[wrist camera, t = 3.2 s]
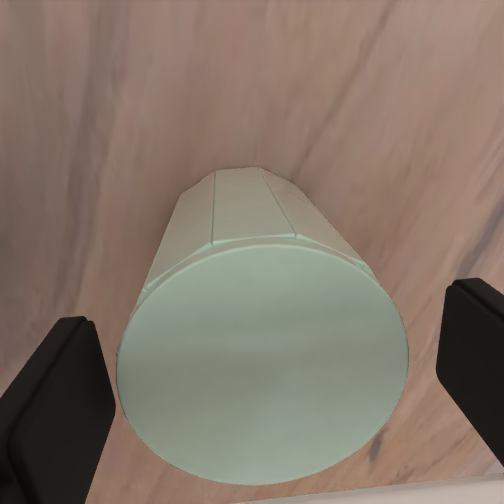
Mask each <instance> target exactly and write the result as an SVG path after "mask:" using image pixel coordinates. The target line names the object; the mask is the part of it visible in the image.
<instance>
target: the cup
mask: <svg viewBox="0 0 504 504" xmlns="http://www.w3.org/2000/svg"><path fill="white" fill-rule="evenodd" d="M116 355H117V362H116V384H117V390H118V396H119V400H120V403H121V406H122V408H123V411H124V414H125V416H126V418H127V420H128V421H129V423H130V425H131V427H132V428H133V430H134V431H135V432H136V434H137V435H138V436H139V438H140V439H141V440H142V441H143V442H144V443H145V444H146V445H147V446H148V447H149V448H150V449H151V450H152V451H153V452H154V453H156V454H157V455H158V456H159V457H161V458H162V459H163V460H165V461H166V462H168V463H170V464H172V465H173V466H175V467H177V468H178V469H181V470H183V471H185V472H187V473H190V474H192V475H195V476H198V477H201V478H204V479H207V480H211V481H216V482H221V483H227V484H236V485H266V484H276V483H282V482H288V481H292V480H296V479H300V478H303V477H307V476H310V475H312V474H315V473H318V472H320V471H323V470H325V469H327V468H329V467H331V466H333V465H335V464H337V463H339V462H340V461H342V460H344V459H345V458H347V457H349V456H350V455H352V454H353V453H354V452H356V451H357V450H358V449H360V448H361V447H362V446H364V445H365V444H366V443H367V442H368V441H369V440H370V439H371V438H372V437H373V436H374V435H375V434H376V433H377V432H378V431H379V430H380V428H381V427H382V426H383V425H384V424H385V422H386V421H387V419H388V418H389V416H390V415H391V413H392V412H393V410H394V409H395V407H396V405H397V402H398V400H399V398H400V396H401V394H402V391H403V388H404V385H405V382H406V377H407V371H408V362H409V348H408V341H407V334H406V330H405V327H404V324H403V321H402V318H401V316H400V314H399V312H398V310H397V308H396V306H395V304H394V302H393V301H392V300H391V298H390V297H389V296H388V294H387V293H386V292H385V290H384V289H383V288H382V287H381V285H380V284H379V282H378V280H377V279H376V277H375V276H374V274H373V272H372V271H371V269H370V267H369V266H368V265H367V264H366V263H365V262H364V260H363V259H362V258H361V257H360V256H359V255H358V254H357V253H356V251H355V250H354V249H353V248H352V247H351V246H350V245H349V244H348V242H347V241H346V240H345V239H344V238H343V237H342V236H341V235H340V234H339V232H338V231H337V230H336V229H335V228H334V227H333V226H332V225H331V223H330V222H329V221H328V220H327V219H326V218H325V217H324V216H323V215H322V213H321V212H320V211H319V210H318V209H317V208H316V207H315V206H314V204H313V203H312V202H311V201H310V200H309V199H308V198H307V197H306V196H305V194H304V193H303V192H302V191H301V190H300V189H299V188H298V187H297V186H296V185H295V184H294V183H292V182H290V181H288V180H286V179H283V178H281V177H279V176H277V175H275V174H273V173H271V172H269V171H267V170H265V169H262V168H260V167H245V168H234V169H223V170H216V171H213V172H212V173H210V174H209V175H207V176H206V177H205V178H203V179H202V180H200V181H199V182H198V183H196V184H195V185H193V186H192V187H191V188H189V189H188V190H186V191H185V192H184V193H182V194H181V196H179V198H178V201H177V203H176V206H175V208H174V210H173V213H172V215H171V217H170V220H169V222H168V224H167V227H166V229H165V232H164V234H163V237H162V239H161V241H160V244H159V246H158V249H157V251H156V254H155V256H154V259H153V261H152V264H151V266H150V269H149V271H148V273H147V276H146V278H145V281H144V283H143V286H142V288H141V291H140V293H139V296H138V298H137V301H136V303H135V305H134V308H133V310H132V313H131V315H130V318H129V320H128V323H127V325H126V328H125V330H124V332H123V335H122V337H121V340H120V342H119V345H118V347H117V353H116Z"/></svg>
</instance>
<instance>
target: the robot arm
mask: <svg viewBox="0 0 504 504" xmlns="http://www.w3.org/2000/svg"><path fill="white" fill-rule="evenodd" d="M436 374H437V377H438V379H439V381H440V383H441V384H442V385H443V387H444V388H445V389H446V391H447V392H448V393H449V395H450V396H451V397H452V399H453V400H454V401H455V403H456V404H457V405H458V407H459V408H460V409H461V411H462V412H463V413H464V415H465V416H466V417H467V419H468V420H469V421H470V423H471V424H472V425H473V427H474V428H475V429H476V431H477V432H478V433H479V435H480V436H481V437H482V439H483V440H484V441H485V443H486V444H487V445H488V447H489V448H490V449H491V451H492V452H493V453H494V455H495V456H496V457H497V459H498V460H499V461H500V463H501V464H502V465H503V467H504V295H503V294H501V293H500V292H499V291H497V290H496V289H494V288H493V287H492V286H490V285H489V284H487V283H486V282H485V281H483V280H482V279H480V278H469V279H458V280H455V281H453V283H452V285H451V286H448V287H447V289H446V293H445V301H444V309H443V316H442V324H441V332H440V339H439V347H438V355H437V362H436ZM115 411H116V403H115V398H114V395H113V391H112V387H111V383H110V380H109V376H108V372H107V368H106V365H105V361H104V357H103V353H102V350H101V346H100V342H99V338H98V335H97V331H96V327H95V324H94V322H93V321H87V319H86V317H84V316H77V317H67V318H60V319H59V320H58V321H57V322H56V324H55V325H54V326H53V328H52V329H51V330H50V332H49V333H48V334H47V336H46V337H45V338H44V340H43V341H42V343H41V344H40V345H39V347H38V348H37V349H36V351H35V352H34V353H33V355H32V356H31V357H30V359H29V360H28V361H27V363H26V364H25V365H24V367H23V368H22V370H21V371H20V372H19V374H18V375H17V376H16V378H15V379H14V380H13V382H12V383H11V384H10V386H9V387H8V388H7V390H6V391H5V392H4V394H3V395H2V397H1V398H0V504H85V501H86V498H87V495H88V492H89V489H90V486H91V483H92V480H93V477H94V474H95V472H96V469H97V466H98V463H99V460H100V457H101V454H102V451H103V448H104V445H105V442H106V440H107V437H108V434H109V431H110V428H111V425H112V422H113V419H114V416H115ZM231 504H504V473H499V474H489V475H480V476H471V477H461V478H452V479H443V480H434V481H424V482H415V483H406V484H397V485H388V486H379V487H370V488H361V489H353V490H344V491H335V492H326V493H317V494H309V495H300V496H291V497H283V498H274V499H265V500H256V501H248V502H240V503H231Z"/></svg>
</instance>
